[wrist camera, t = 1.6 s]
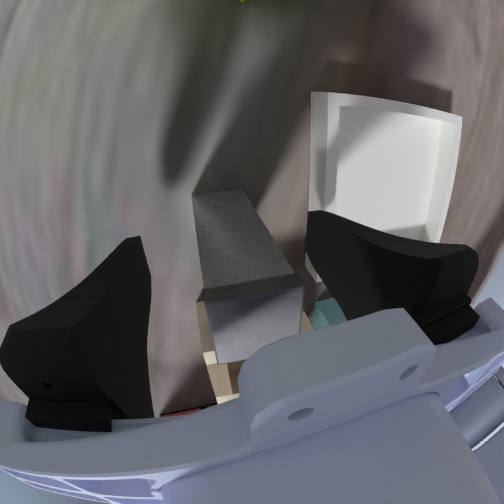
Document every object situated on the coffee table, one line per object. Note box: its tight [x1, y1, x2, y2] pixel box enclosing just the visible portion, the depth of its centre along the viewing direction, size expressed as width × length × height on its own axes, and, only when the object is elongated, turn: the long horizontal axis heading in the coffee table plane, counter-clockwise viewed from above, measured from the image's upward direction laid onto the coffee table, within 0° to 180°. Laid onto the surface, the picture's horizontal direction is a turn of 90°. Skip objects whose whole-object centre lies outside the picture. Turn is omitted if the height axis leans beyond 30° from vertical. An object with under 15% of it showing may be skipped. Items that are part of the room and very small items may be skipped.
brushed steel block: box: [192, 189, 305, 365], centre depth 11 cm, size 3×3×8 cm
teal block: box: [312, 297, 347, 330], centre depth 20 cm, size 5×5×4 cm
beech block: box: [196, 301, 314, 404], centre depth 17 cm, size 6×6×4 cm
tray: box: [305, 92, 462, 282], centre depth 15 cm, size 10×10×2 cm
